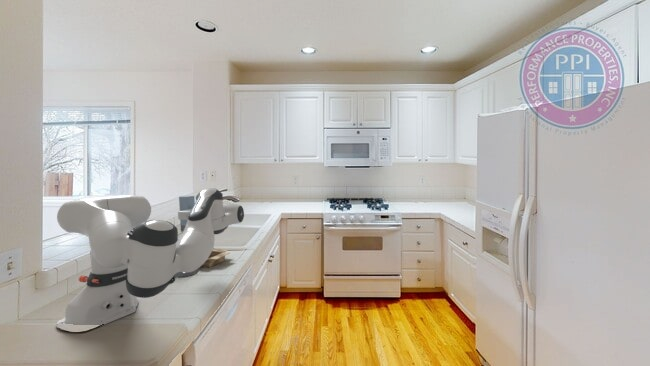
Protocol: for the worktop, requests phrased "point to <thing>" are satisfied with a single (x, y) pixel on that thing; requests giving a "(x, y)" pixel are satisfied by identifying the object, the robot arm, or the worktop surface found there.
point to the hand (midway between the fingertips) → (185, 211)
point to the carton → (215, 257)
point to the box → (185, 207)
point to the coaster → (185, 274)
